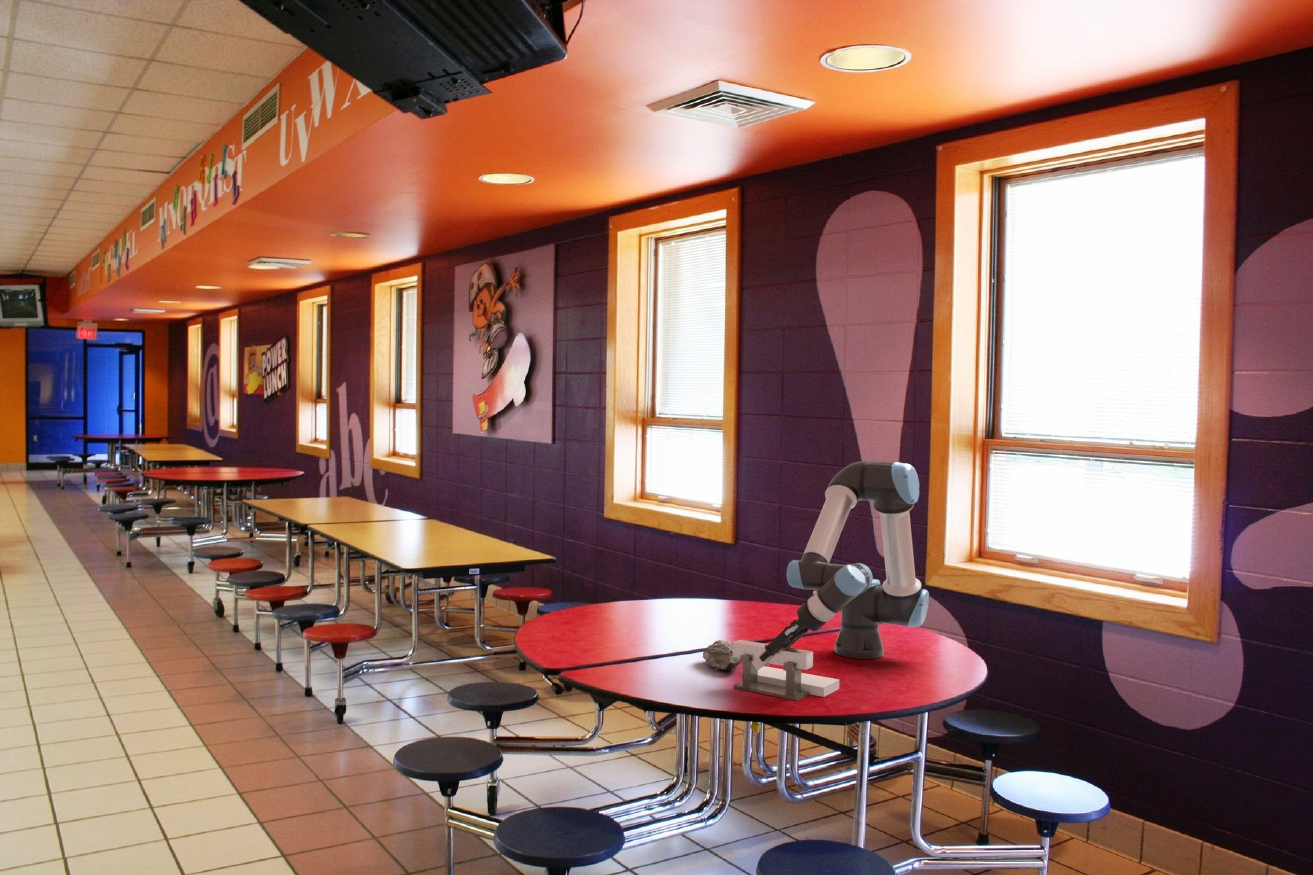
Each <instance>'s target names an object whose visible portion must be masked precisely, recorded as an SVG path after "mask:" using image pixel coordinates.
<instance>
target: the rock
mask: <svg viewBox="0 0 1313 875" xmlns="http://www.w3.org/2000/svg"><path fill="white" fill-rule="evenodd" d="M732 656H733V643H731V642H730V641H727V640H724V639H719V640H715V641H714V642H713V643H712V644H709V645H708V646H707V647H706V648H705V650H703V653H702V658H703V659H704V660H705V663H706V664H707V665H709V666H711V667H713V668H714V669H716V670H726V671H728V672H729V671H730V672H731V671H733V670H735V668H736V667H737V666H739V665H740V664H741V663H740V658H736V657H732Z"/></svg>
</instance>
